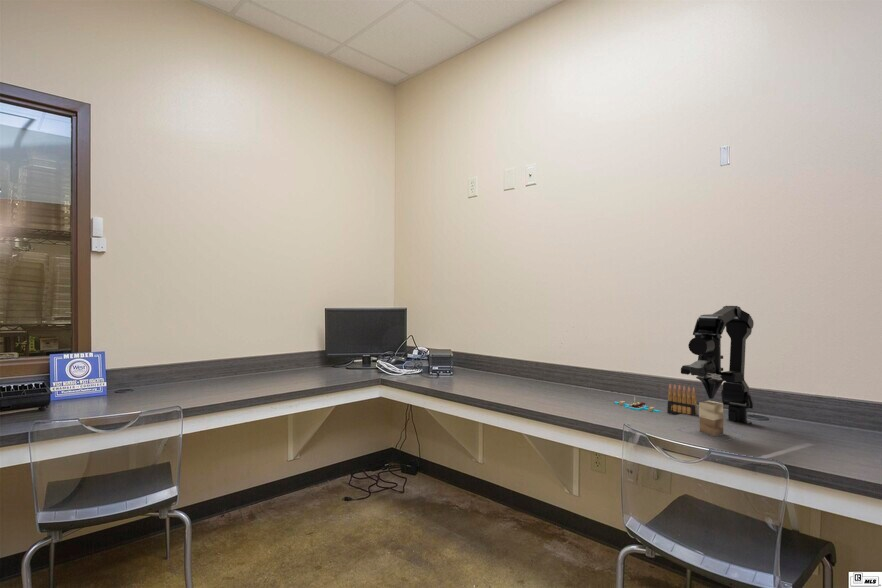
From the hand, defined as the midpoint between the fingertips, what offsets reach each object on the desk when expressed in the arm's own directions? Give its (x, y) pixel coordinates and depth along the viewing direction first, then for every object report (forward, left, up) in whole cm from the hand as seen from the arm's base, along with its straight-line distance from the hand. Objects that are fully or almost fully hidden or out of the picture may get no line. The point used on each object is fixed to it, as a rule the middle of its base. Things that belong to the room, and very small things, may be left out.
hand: (711, 398), depth 153 cm
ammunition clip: (-14, -21, -13) cm, 28 cm away
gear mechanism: (-9, -38, -13) cm, 41 cm away
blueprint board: (0, 0, -12) cm, 12 cm away
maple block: (0, 0, -6) cm, 6 cm away
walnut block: (0, 0, -11) cm, 11 cm away
